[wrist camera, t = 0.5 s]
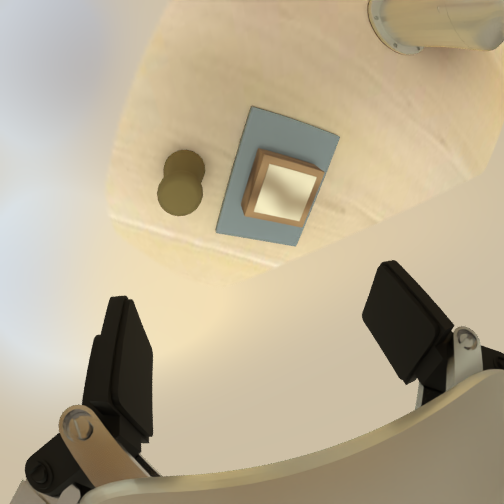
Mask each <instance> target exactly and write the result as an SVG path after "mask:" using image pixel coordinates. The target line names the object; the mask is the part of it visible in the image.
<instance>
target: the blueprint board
mask: <svg viewBox="0 0 504 504" xmlns="http://www.w3.org/2000/svg"><path fill="white" fill-rule="evenodd" d="M339 138H340V137H339V136H337V135H334V134H332V133H329V132H327V131H324V130H322V129H319V128H316V127H314V126H311V125H308V124H306V123H303V122H300V121H297V120H294V119H291V118H288V117H285V116H282V115H279V114H276V113H272V112H269V111H266V110H262V109H259V108H255V107H252V106H251V108H250V112H249V115H248V118H247V121H246V124H245V128H244V131H243V134H242V137H241V141H240V144H239V147H238V151H237V154H236V158H235V161H234V164H233V168H232V171H231V175H230V178H229V182H228V186H227V189H226V193H225V196H224V200H223V204H222V207H221V211H220V215H219V219H218V222H217V226H216V233H219V234H225V235H231V236H237V237H243V238H249V239H255V240H261V241H267V242H273V243H279V244H285V245H290V246H296V245H297V243H298V240H299V238H300V236H301V233H302V231H303V228H304V226H305V224H306V221H307V219H308V217H309V214H310V212H311V209H312V207H313V204H314V202H315V200H316V197H317V195H318V192H319V190H320V187H321V185H322V182H323V180H324V177H325V175H326V172H327V170H328V167H329V165H330V162H331V159H332V157H333V154H334V152H335V149H336V146H337V144H338V141H339ZM258 148H260V149H264V150H268V151H271V152H275V153H279V154H282V155H286V156H289V157H292V158H296V159H299V160H302V161H305V162H309V163H312V164H314V165H316V166H317V167H318V168H320V169H321V170H322V171H324V172H325V173H324V176H323V178H322V181H321V183H320V186H319V188H318V191H317V193H316V196H315V198H314V201H313V203H312V206H311V208H310V211H309V213H308V215H307V218H306V220H305V223H304V225H303V227H302V228H301V227H296V226H291V225H287V224H282V223H277V222H272V221H267V220H261V219H256V218H251V217H246V216H244V213H243V210H242V207H241V201H242V198H243V195H244V191H245V188H246V185H247V182H248V178H249V175H250V172H251V169H252V166H253V162H254V159H255V156H256V153H257V150H258Z"/></svg>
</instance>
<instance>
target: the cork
mask: <svg viewBox="0 0 504 504" xmlns="http://www.w3.org/2000/svg"><path fill="white" fill-rule="evenodd" d="M204 173H205V165H204V162H203V160H202V158H201V157H200V156H199V155H198V154H196V153H195V152H193V151H189V150H180V151H177V152H175V153H173V154H172V155H171V156H169V157H168V159H167V160H166V162H165V165H164V178H163V179H162V181H161V183H160V184H159V187H158V191H157V196H158V201H159V203H160V205H161V207H162V208H163V209H164V210H165V211H166V212H167V213H169V214H171V215H175V216H185V215H188V214H190V213H192V212H193V211H194V210H196V209H197V207H198V206H199V204H200V203H201V200H202V197H203V190H202V185H201V182H202V179H203V176H204Z"/></svg>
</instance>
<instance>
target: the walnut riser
mask: <svg viewBox="0 0 504 504" xmlns="http://www.w3.org/2000/svg"><path fill="white" fill-rule="evenodd" d="M324 173H325V172H324V171H322V170H321V169H320V168H318V167H317V166H316V165H314V164H312V163H309V162H305V161H302V160H299V159H296V158H292V157H289V156H286V155H282V154H279V153H275V152H271V151H268V150H264V149H260V148H258V150H257V153H256V156H255V159H254V162H253V166H252V169H251V172H250V175H249V178H248V182H247V185H246V188H245V191H244V195H243V198H242V201H241V207H242V210H243V213H244V216H246V217H251V218H256V219H261V220H267V221H272V222H277V223H282V224H287V225H291V226H296V227H301V228H302V227H303V225H304V223H305V220H306V218H307V215H308V213H309V211H310V208H311V206H312V203H313V201H314V198H315V196H316V193H317V191H318V188H319V186H320V183H321V181H322V178H323V176H324Z"/></svg>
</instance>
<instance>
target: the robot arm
mask: <svg viewBox="0 0 504 504" xmlns="http://www.w3.org/2000/svg"><path fill="white" fill-rule="evenodd" d="M368 13H369V19H370V22H371V25H372V27H373V29H374V31H375V32H376V34H377V35H378V37H379V38H380V39H381V40H382V42H383V43H384V44H386V45H387V46H388V47H389V48H390V49H392V50H393V51H395V52H397V53H400V54H404V55H414V54H418V53H419V52H421V51H422V50H423V49H424V47H448V48H461V49H470V50H479V51H491V50H494V49H496V48H497V47H498V46H499V45H500V44H501V43H502V42H503V41H504V0H370V2H369V6H368ZM362 318H363V321H364V323H365V324H366V326H367V327H368V329H369V330H370V332H371V333H372V335H373V337H374V338H375V340H376V341H377V343H378V344H379V346H380V348H381V349H382V351H383V352H384V354H385V356H386V357H387V359H388V360H389V362H390V364H391V365H392V367H393V368H394V370H395V372H396V373H397V375H398V377H399V378H400V379H401V380H403V381H404V383H405V384H406V385H407V384H409V383H411V382H413V381H415V380H416V378H418V380H419V387H418V394H417V401H416V407H415V410H414V411H413V412H410V413H409V414H407V415H405V416H403V417H401V418H399V419H397V420H395V421H393V422H391V423H389V424H387V425H384V426H382V427H380V428H378V429H376V430H373V431H372V432H369V433H367V434H364V435H362V436H359V437H357V438H354V439H352V440H349V441H347V442H344V443H341V444H338V445H336V446H333V447H330V448H327V449H324V450H321V451H318V452H314V453H311V454H307V455H304V456H300V457H297V458H293V459H289V460H285V461H281V462H277V463H273V464H268V465H262V466H258V467H252V468H246V469H240V470H233V471H225V472H218V473H209V474H198V475H183V476H166V477H163V476H162V475H161V474H160V473H159V472H158V471H157V470H156V469H155V468H154V467H152V465H151V464H150V463H149V462H148V461H147V460H146V459H145V458H144V457H143V456H142V455H141V454H140V452H141V443H149V437H152V435H153V417H152V416H153V414H152V370H153V369H152V368H153V352H152V347H151V345H150V343H149V340H148V338H147V335H146V333H145V330H144V328H143V325H142V323H141V320H140V318H139V315H138V312H137V310H136V307H135V304H134V302H133V300H132V299H130V300H128V298H127V296H116V297H111V298H110V300H109V303H108V307H107V311H106V315H105V319H104V323H103V327H102V331H101V335H96V337H95V338H94V341H93V345H92V350H91V355H90V359H89V365H88V370H87V376H86V381H85V387H84V393H83V400H82V405H73V406H71V407H69V408H67V409H66V410H65V411H64V412H63V413H62V415H61V417H60V420H59V432H60V433H58V434H57V435H56V436H55V437H54V438H52V439H51V440H50V441H49V442H48V443H46V444H45V445H44V446H43V447H42V448H40V449H39V450H38V451H37V452H35V453H34V454H33V455H32V456H31V457H30V458H29V459H28V460H27V462H26V465H25V474H26V478H27V479H26V481H24V480H22V481H21V483H20V485H19V487H18V489H17V491H16V493H15V495H14V497H13V499H12V501H11V503H10V504H504V354H503V353H501V352H499V351H496V350H493V349H490V348H487V347H484V346H481V345H480V340H479V338H478V336H477V335H476V334H475V332H474V331H473V330H471V329H470V328H467V327H462V326H461V327H458V328H456V329H455V331H454V332H452V331H451V330H452V328H453V327H454V324H453V323H452V322H451V321H450V320H449V318H448V317H447V316H446V315H445V314H444V312H443V311H442V310H441V309H440V308H439V307H438V305H437V304H436V303H435V302H434V301H433V300H432V299H431V297H430V296H429V295H428V294H427V293H426V292H425V291H424V290H423V289H422V288H421V286H420V285H418V283H417V282H416V281H415V280H414V279H413V278H412V277H411V276H410V275H409V274H408V273H407V272H406V271H405V270H404V269H403V267H402V266H401V265H400V264H399V263H398V262H397V261H395V260H392V261H386V262H382V263H381V265H380V266H379V267H378V269H377V272H376V275H375V278H374V281H373V284H372V287H371V290H370V293H369V296H368V299H367V302H366V304H365V307H364V310H363V313H362Z"/></svg>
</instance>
